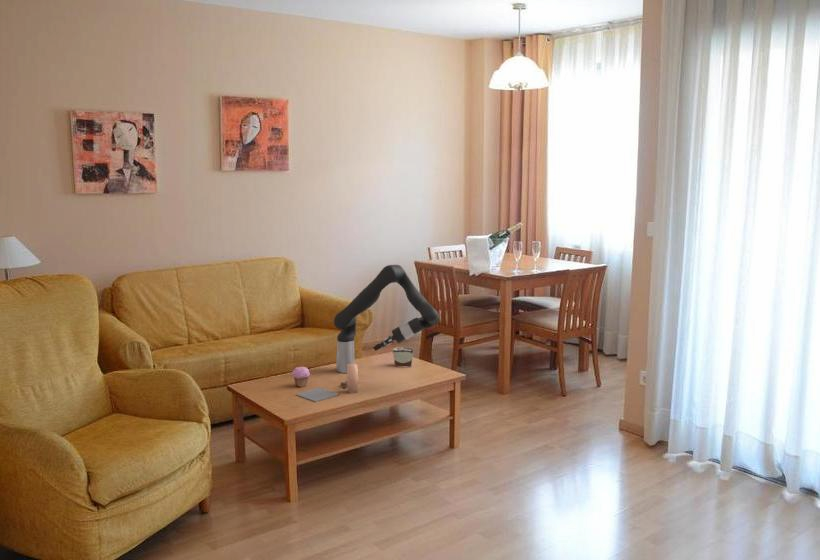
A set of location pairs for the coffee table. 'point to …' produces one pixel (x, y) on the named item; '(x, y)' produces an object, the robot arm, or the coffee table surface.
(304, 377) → the cupcake
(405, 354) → the food container
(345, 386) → the walnut block
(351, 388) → the terracotta canister
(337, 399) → the coffee table surface
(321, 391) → the charcoal mat
